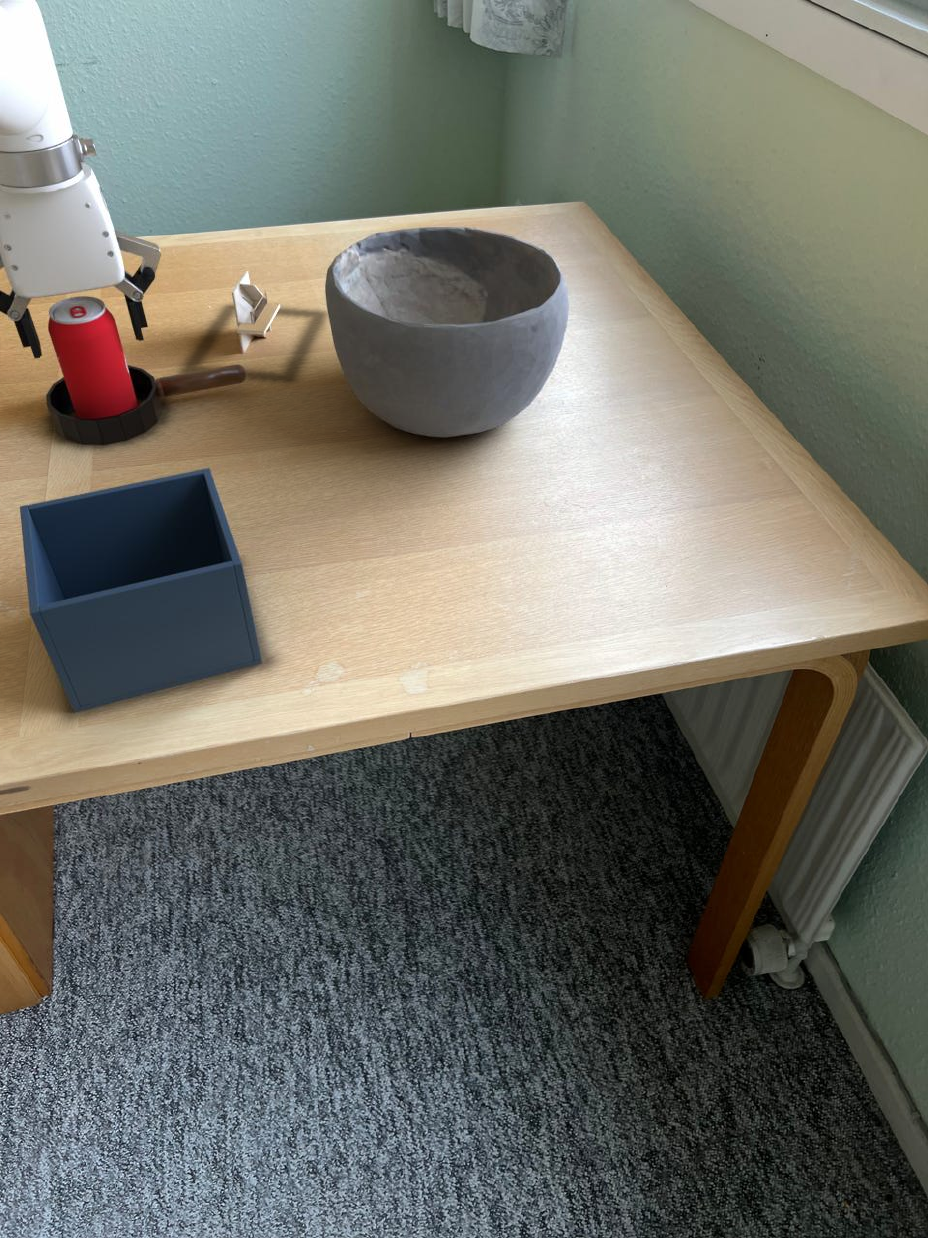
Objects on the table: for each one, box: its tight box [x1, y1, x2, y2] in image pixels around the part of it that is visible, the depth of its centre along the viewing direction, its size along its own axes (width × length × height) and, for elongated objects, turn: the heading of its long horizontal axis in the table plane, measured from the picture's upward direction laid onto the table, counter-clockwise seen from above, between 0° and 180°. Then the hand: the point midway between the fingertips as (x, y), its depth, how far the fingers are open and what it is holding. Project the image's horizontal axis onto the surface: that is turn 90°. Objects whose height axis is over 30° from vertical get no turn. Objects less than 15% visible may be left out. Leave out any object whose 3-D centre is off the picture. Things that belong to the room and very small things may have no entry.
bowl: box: [324, 226, 570, 438], centre depth 94 cm, size 24×24×15 cm
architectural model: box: [231, 270, 281, 354], centre depth 105 cm, size 3×7×7 cm, turn 173°
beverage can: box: [47, 295, 139, 419], centre depth 92 cm, size 6×6×12 cm
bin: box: [19, 467, 263, 714], centre depth 71 cm, size 14×12×11 cm
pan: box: [45, 364, 248, 446], centre depth 97 cm, size 20×11×3 cm, turn 112°
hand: (88, 342), depth 91 cm, fingers open, 9 cm apart
